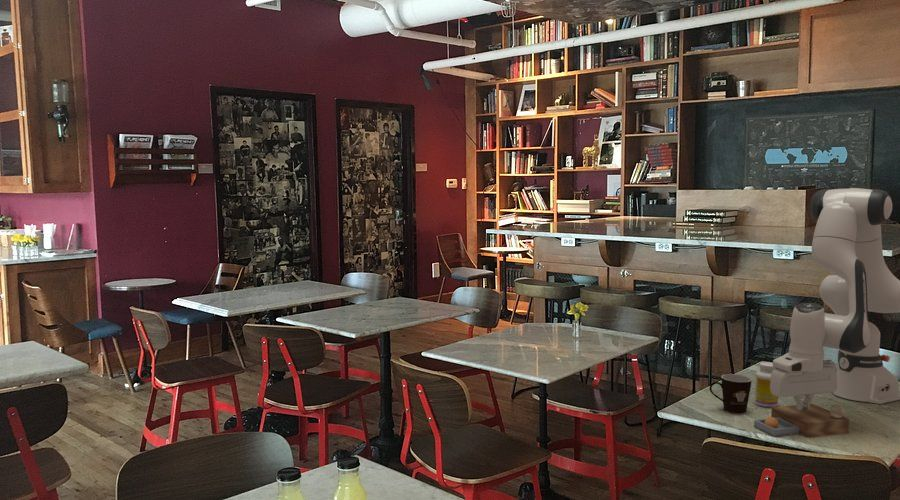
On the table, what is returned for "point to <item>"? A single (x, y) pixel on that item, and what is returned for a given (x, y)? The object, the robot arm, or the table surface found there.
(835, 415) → the cream ball
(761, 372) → the supplement bottle
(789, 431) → the dish
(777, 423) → the ball
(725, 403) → the coffee mug
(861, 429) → the table surface
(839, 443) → the table surface
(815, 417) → the wooden cutting board
